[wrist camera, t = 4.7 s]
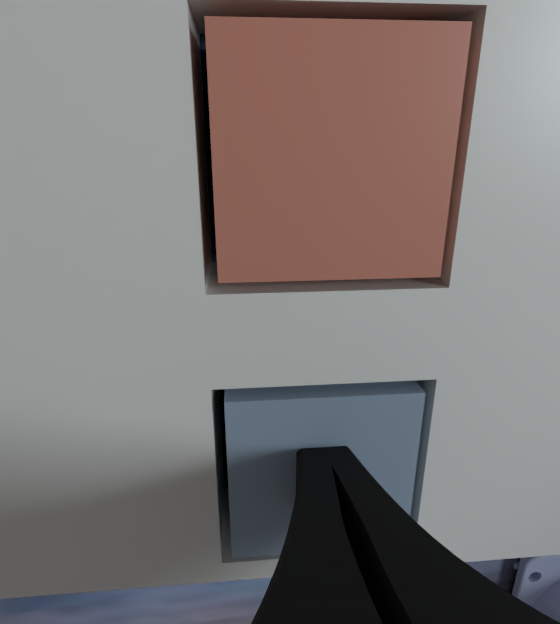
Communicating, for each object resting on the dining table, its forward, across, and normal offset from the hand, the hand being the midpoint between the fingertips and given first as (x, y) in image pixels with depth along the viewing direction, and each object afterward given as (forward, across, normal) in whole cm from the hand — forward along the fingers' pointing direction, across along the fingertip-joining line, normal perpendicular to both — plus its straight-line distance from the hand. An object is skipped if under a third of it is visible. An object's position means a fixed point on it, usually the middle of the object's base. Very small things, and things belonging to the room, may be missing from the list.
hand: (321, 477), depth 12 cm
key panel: (+3, 0, -4) cm, 5 cm away
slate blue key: (+3, 0, 0) cm, 3 cm away
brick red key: (+3, 0, -8) cm, 8 cm away
